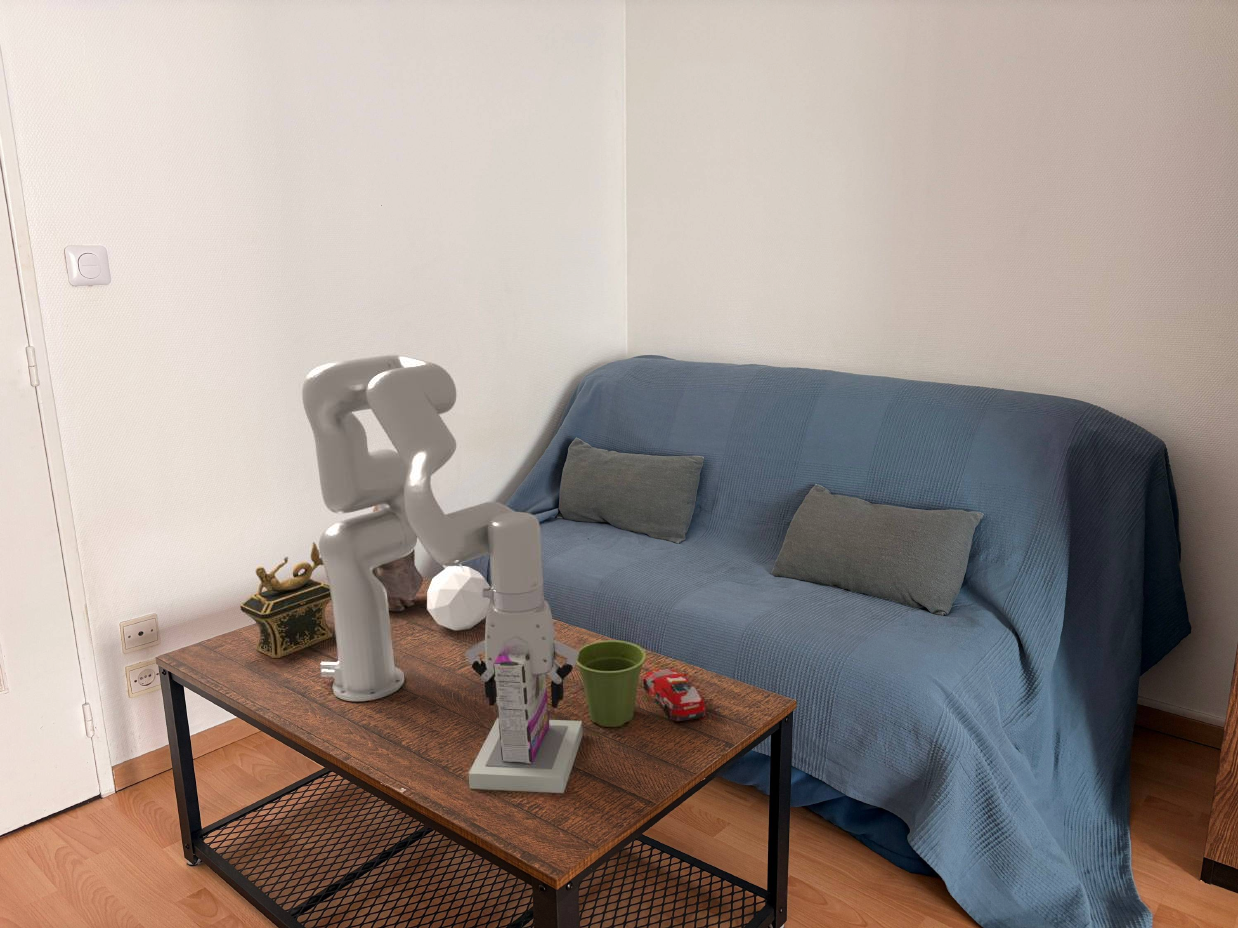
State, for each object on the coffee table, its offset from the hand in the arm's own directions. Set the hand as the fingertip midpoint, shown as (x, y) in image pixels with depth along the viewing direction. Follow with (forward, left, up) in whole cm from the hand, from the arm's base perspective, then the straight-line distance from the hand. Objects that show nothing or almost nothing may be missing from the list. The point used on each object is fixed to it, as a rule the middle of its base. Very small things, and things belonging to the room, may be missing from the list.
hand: (525, 702), depth 138 cm
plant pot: (+11, +14, -10) cm, 20 cm away
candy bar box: (0, 0, -7) cm, 7 cm away
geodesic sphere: (-26, +49, -10) cm, 56 cm away
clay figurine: (-43, +58, -10) cm, 73 cm away
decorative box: (-57, +40, -10) cm, 70 cm away
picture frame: (0, 0, -10) cm, 10 cm away
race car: (+21, +20, -10) cm, 31 cm away
